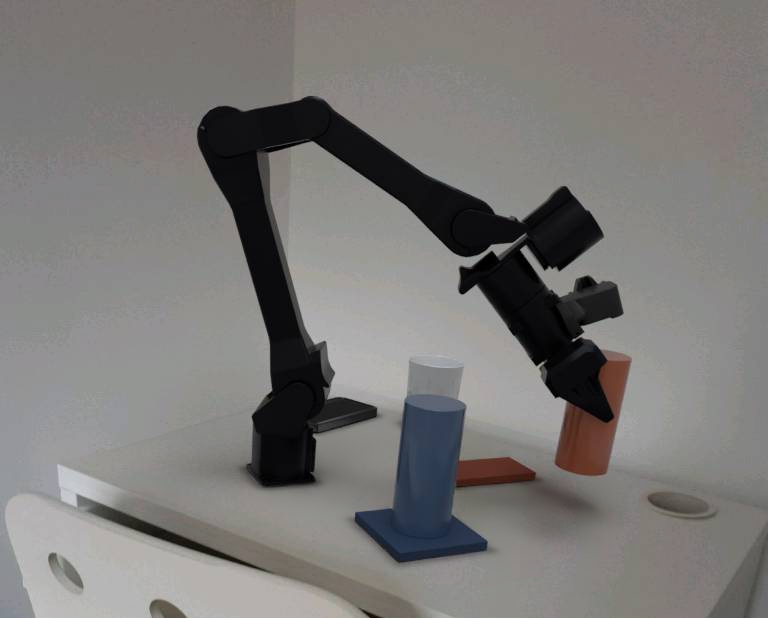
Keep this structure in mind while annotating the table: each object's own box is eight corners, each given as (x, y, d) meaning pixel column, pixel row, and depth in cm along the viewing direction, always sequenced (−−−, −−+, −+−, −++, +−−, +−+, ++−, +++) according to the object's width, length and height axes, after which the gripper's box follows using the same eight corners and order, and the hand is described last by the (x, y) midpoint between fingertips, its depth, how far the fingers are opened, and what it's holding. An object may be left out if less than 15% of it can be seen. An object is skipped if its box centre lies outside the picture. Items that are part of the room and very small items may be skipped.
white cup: (456, 438, 115) (466, 369, 111) (401, 433, 115) (409, 363, 111) (453, 423, 122) (462, 357, 119) (401, 418, 122) (408, 352, 119)
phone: (380, 407, 122) (315, 425, 110) (379, 415, 122) (314, 433, 111) (339, 396, 126) (272, 411, 114) (339, 403, 126) (272, 419, 115)
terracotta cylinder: (577, 477, 89) (601, 360, 84) (543, 459, 94) (564, 347, 89) (618, 474, 92) (644, 360, 87) (584, 456, 96) (606, 348, 92)
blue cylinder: (408, 541, 79) (423, 412, 74) (380, 517, 83) (393, 394, 79) (460, 535, 81) (478, 410, 77) (430, 511, 86) (446, 393, 81)
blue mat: (398, 562, 76) (399, 552, 76) (354, 520, 85) (355, 511, 84) (486, 550, 81) (488, 541, 81) (436, 511, 89) (437, 503, 89)
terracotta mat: (454, 487, 97) (455, 479, 96) (429, 470, 102) (430, 462, 101) (535, 479, 102) (536, 472, 102) (508, 463, 107) (509, 456, 107)
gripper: (605, 259, 75) (694, 388, 79) (571, 244, 93) (645, 351, 97) (507, 334, 78) (597, 455, 82) (492, 306, 96) (567, 407, 100)
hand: (604, 412), depth 90 cm, fingers closed on terracotta cylinder, 6 cm apart
